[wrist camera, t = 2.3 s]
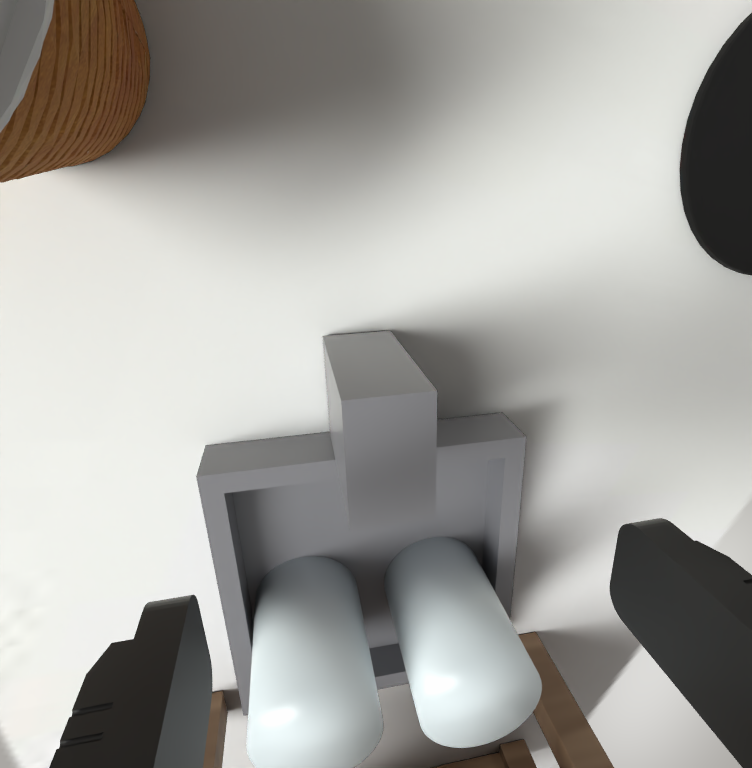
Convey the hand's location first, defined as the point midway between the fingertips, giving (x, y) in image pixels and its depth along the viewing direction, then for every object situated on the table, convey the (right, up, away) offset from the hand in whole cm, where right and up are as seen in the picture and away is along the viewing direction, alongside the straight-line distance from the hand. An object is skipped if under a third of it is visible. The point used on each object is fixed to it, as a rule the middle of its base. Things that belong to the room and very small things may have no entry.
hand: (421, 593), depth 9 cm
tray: (-1, -2, +12) cm, 13 cm away
